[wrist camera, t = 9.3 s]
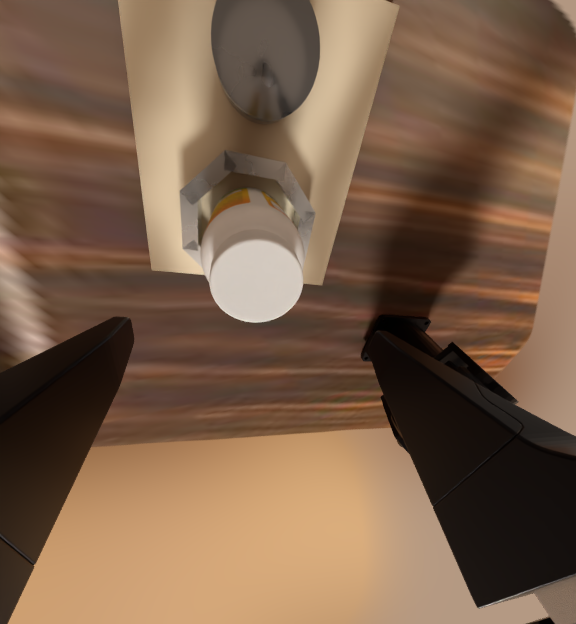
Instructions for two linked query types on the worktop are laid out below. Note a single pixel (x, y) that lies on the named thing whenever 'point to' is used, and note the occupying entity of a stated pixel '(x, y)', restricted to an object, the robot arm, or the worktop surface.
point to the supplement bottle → (252, 256)
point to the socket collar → (244, 165)
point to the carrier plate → (238, 130)
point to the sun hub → (265, 55)
